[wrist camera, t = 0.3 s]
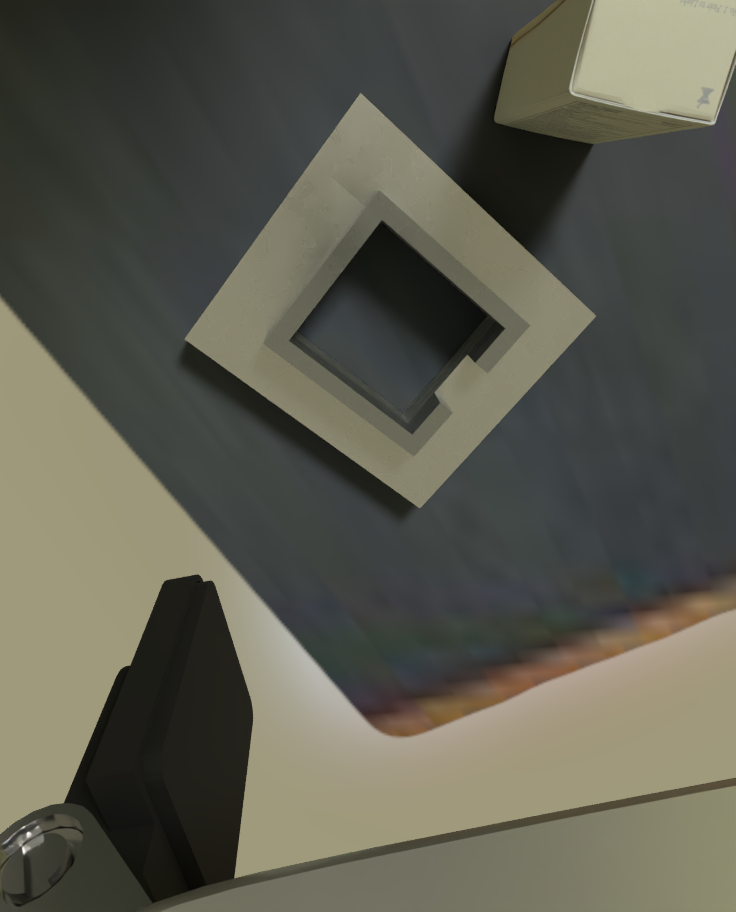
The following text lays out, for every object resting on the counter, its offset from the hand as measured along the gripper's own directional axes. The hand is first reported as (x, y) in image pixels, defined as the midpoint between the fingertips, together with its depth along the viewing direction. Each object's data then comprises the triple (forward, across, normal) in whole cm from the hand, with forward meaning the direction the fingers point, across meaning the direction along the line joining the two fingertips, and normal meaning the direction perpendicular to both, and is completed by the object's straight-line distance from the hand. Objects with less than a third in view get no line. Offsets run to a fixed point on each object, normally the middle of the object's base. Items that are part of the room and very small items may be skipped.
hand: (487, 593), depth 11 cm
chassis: (+30, -1, +1) cm, 30 cm away
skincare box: (+30, -12, -10) cm, 34 cm away
